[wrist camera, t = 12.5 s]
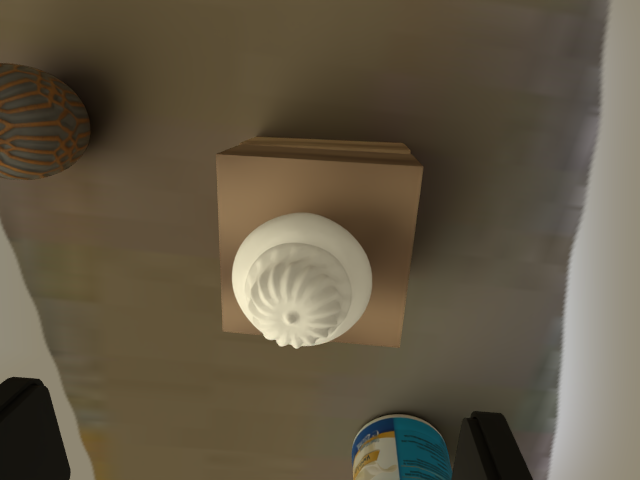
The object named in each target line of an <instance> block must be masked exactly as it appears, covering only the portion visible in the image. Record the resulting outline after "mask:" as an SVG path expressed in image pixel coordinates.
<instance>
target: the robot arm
mask: <svg viewBox="0 0 640 480" xmlns="http://www.w3.org/2000/svg"><path fill="white" fill-rule="evenodd" d="M69 479H70V467H69V463H68V459H67V456H66V452H65V448H64V445H63V441H62V438H61V434H60V431H59V426H58V423H57V419H56V416H55V412H54V408H53V404H52V401H51V397H50V393H49V390H48V388H47V387H46V386H44V384H43V383H42V381H41V380H40V379H34V378H21V377H12V378H8V379H7V380H5V381H4V382H2V383H1V384H0V480H69ZM451 480H533V479H532V476H531V474H530V472H529V470H528V468H527V465H526V463H525V461H524V459H523V456H522V454H521V452H520V450H519V448H518V445H517V443H516V441H515V439H514V437H513V434H512V432H511V430H510V428H509V426H508V423H507V421H506V419H505V417H504V416H503V415H502V414H501V413H491V412H478V411H473V413H472V414H471V418H464V419H463V421H462V425H461V431H460V436H459V441H458V446H457V452H456V457H455V462H454V467H453V473H452V478H451Z"/></svg>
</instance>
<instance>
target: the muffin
mask: <svg viewBox="0 0 640 480" xmlns="http://www.w3.org/2000/svg"><path fill="white" fill-rule="evenodd" d="M232 285H233V291H234V294H235V297H236V299H237V302H238V304H239V306H240V308H241V309H242V311H243V313H244V314H245V316H246V317H247V318H248V319H249V321H250V322H251V323H252V324H253V325H254V326H255V327H256V328H257V329H258V330H259V331H261V332H262V333H263V335H264V337H265V338H267V339H269V340H276V342H277V343H278V345H279V346H286V345H287V344H291V345H292V346H293V347H294V348H296V349H298V348H299V347H300V346H313V345H318V344H322V343H326V342H329V341H331V340H333V339H335V338H337V337H339V336H341V335H342V334H344V333H345V332H346V331H348V330H349V329H350V328H351V327H352V326H353V325H354V324H355V323H356V322H357V321H358V320H359V319H360V317H361V316H362V314H363V313H364V311H365V309H366V307H367V305H368V303H369V299H370V296H371V291H372V272H371V267H370V263H369V260H368V258H367V255H366V253H365V251H364V250H363V248H362V247H361V245H360V244H359V242H358V241H357V240H356V239H355V238H354V237H353V236H352V235H351V234H350V233H349V232H348V231H347V230H346V229H344V228H343V227H342V226H341V225H339V224H337V223H335V222H334V221H332V220H330V219H328V218H325V217H323V216H320V215H316V214H312V213H291V214H287V215H282V216H279V217H276V218H274V219H271V220H269V221H267V222H265V223H264V224H262V225H260V226H259V227H257V228H256V229H255V230H254V231H252V232H251V233H250V234H249V235H248V236H247V237H246V239H245V240H244V241H243V243H242V244H241V246H240V247H239V249H238V252H237V254H236V256H235V260H234V263H233V269H232Z"/></svg>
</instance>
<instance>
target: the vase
mask: <svg viewBox="0 0 640 480" xmlns="http://www.w3.org/2000/svg"><path fill="white" fill-rule="evenodd" d="M90 131H91V130H90V121H89V117H88V113H87V111H86V108H85V106H84V104H83V103H82V101H81V100H80V98H79V97H78V95H77V94H76V93H75V92H74V91H73V90H72V89H71V88H70V87H69V86H67V85H66V84H65V83H64V82H62V81H61V80H59V79H58V78H56V77H54V76H52V75H50V74H48V73H46V72H44V71H41V70H39V69H36V68H33V67H28V66H24V65H18V64H8V63H0V178H5V179H13V180H33V179H40V178H44V177H48V176H51V175H54V174H57V173H59V172H62V171H64V170H65V169H67V168H69V167H70V166H72V165H73V164H74V163H75V162H76V161H77V160H78V159H79V158H80V157H81V156H82V155H83V153H84V152H85V150H86V148H87V146H88V143H89V140H90Z"/></svg>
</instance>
